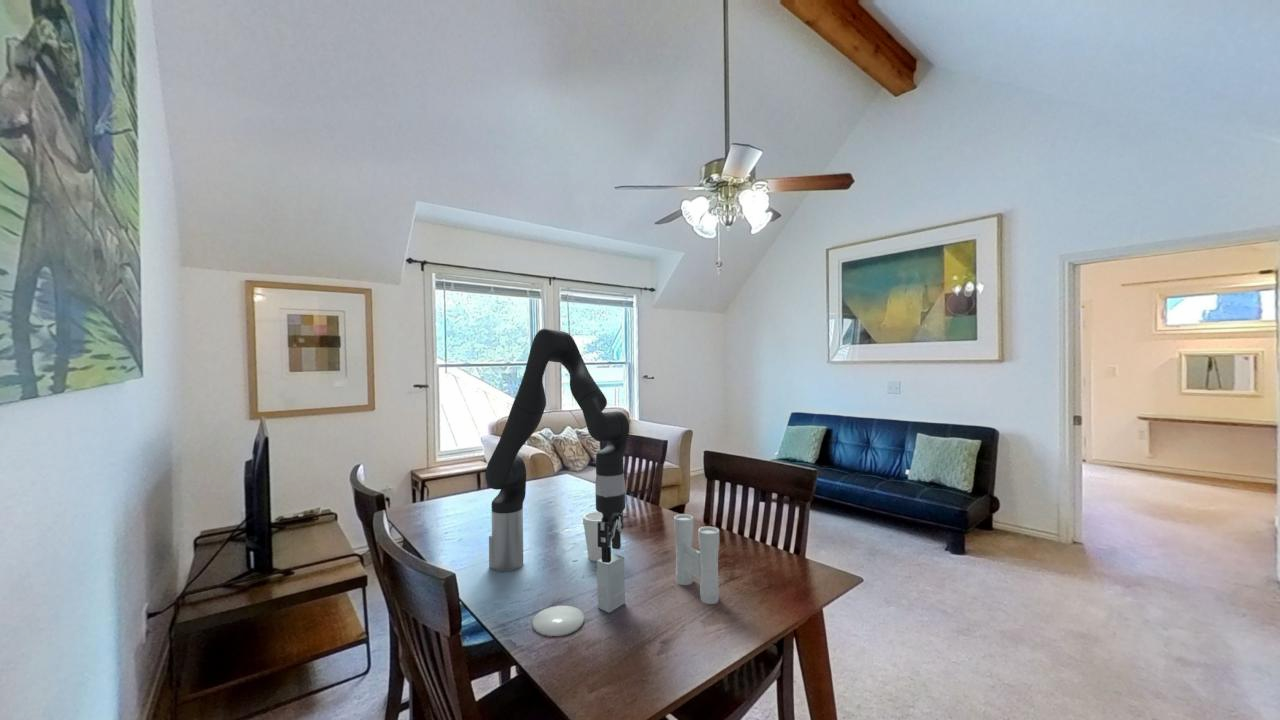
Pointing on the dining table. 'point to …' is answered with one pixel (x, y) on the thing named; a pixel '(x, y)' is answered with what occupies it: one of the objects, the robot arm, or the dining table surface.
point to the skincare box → (611, 583)
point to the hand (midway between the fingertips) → (611, 555)
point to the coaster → (558, 620)
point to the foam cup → (592, 534)
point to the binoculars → (697, 557)
